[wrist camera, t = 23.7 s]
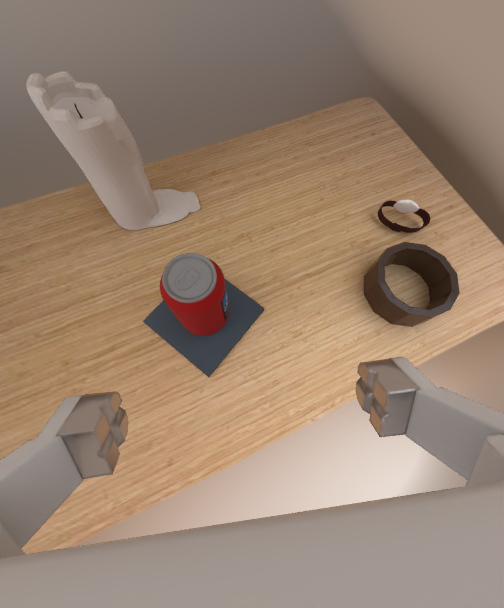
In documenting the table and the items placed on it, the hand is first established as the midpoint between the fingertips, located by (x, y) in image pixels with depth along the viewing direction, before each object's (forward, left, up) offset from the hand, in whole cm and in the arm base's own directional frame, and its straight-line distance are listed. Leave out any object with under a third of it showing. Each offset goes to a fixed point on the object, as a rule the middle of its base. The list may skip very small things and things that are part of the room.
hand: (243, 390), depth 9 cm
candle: (+15, +30, -28) cm, 43 cm away
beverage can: (+6, +12, -27) cm, 30 cm away
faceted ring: (+27, -8, -27) cm, 39 cm away
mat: (+6, +12, -27) cm, 30 cm away
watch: (+38, -2, -28) cm, 47 cm away
